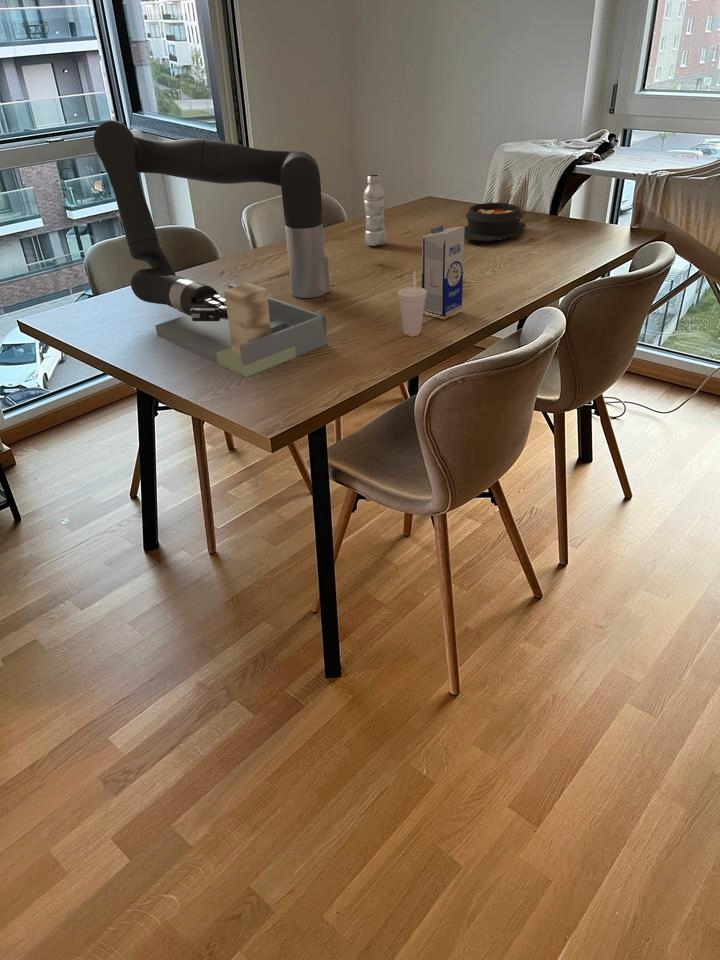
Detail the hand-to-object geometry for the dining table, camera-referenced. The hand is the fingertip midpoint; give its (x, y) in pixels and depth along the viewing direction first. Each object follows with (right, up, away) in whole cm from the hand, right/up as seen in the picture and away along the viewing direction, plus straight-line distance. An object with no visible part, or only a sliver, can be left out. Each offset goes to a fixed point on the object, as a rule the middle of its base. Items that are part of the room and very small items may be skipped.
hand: (240, 316), depth 156 cm
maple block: (+2, -7, +2) cm, 7 cm away
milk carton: (+44, +6, +23) cm, 50 cm away
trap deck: (-2, -2, +13) cm, 14 cm away
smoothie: (+36, -1, +12) cm, 38 cm away
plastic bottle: (+29, +37, +73) cm, 87 cm away
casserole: (+65, +41, +76) cm, 108 cm away
